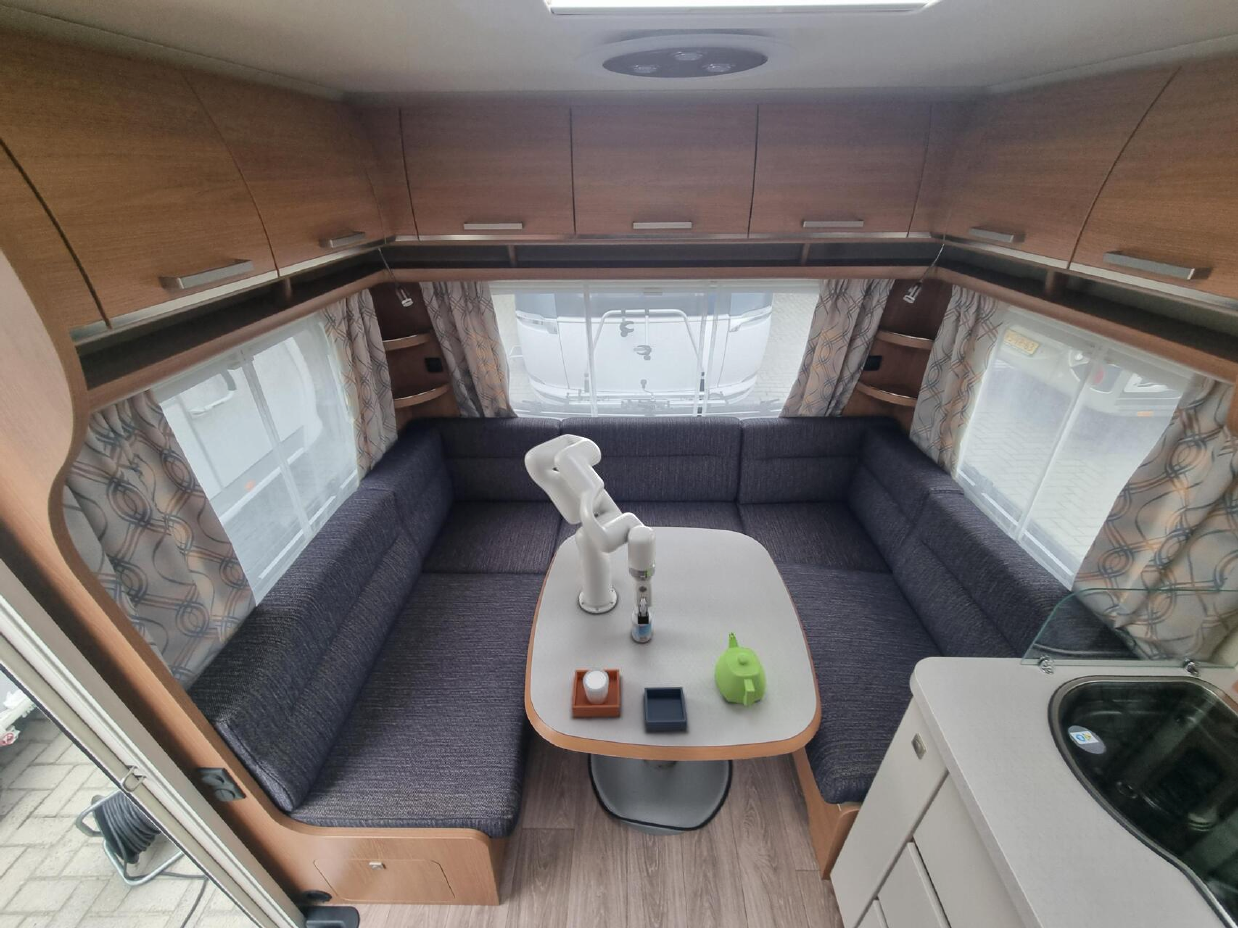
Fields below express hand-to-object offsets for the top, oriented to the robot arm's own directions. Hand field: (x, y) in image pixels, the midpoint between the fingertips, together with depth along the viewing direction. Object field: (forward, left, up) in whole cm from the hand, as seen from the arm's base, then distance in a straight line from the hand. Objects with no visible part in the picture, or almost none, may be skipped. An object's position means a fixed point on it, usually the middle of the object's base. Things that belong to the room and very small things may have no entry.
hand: (642, 610), depth 145 cm
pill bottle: (0, 0, -11) cm, 11 cm away
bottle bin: (+25, +5, -11) cm, 28 cm away
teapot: (+18, +26, -11) cm, 33 cm away
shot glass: (+20, -13, -11) cm, 26 cm away
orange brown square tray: (+20, -13, -11) cm, 27 cm away
